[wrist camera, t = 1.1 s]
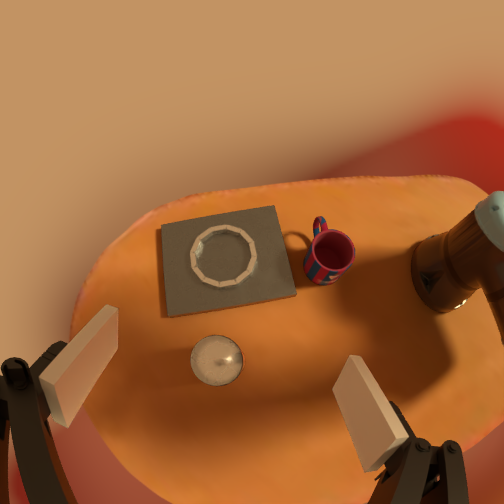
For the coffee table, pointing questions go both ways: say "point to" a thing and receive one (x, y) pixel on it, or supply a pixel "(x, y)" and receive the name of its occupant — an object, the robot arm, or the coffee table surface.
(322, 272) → the mug
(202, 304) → the grey base plate
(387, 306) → the coffee table surface
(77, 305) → the coffee table surface
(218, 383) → the disc
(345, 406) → the robot arm
